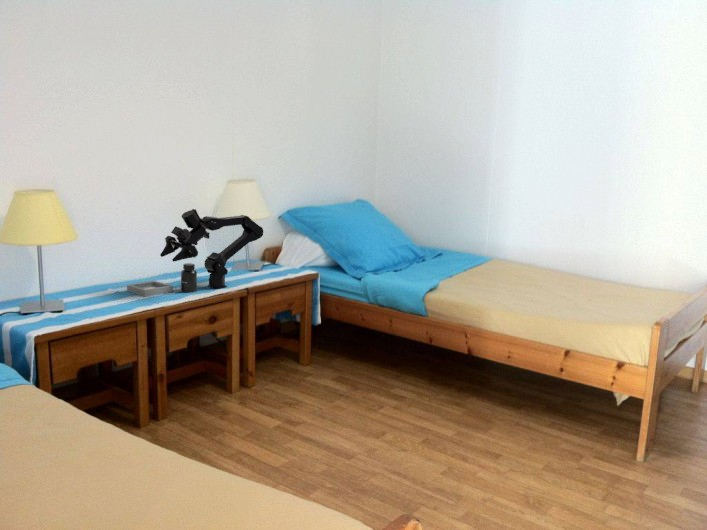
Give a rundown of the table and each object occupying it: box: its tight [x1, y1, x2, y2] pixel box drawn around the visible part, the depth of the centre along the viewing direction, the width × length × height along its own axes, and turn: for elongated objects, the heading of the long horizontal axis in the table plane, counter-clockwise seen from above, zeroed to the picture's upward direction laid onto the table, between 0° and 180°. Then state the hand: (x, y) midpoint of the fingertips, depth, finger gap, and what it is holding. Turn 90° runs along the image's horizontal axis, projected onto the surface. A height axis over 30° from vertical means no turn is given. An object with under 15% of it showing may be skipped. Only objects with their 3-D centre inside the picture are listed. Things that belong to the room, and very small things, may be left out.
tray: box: [126, 280, 174, 297], centre depth 299 cm, size 14×14×3 cm
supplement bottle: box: [180, 262, 198, 293], centre depth 301 cm, size 7×7×12 cm
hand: (166, 258), depth 291 cm, fingers open, 9 cm apart
